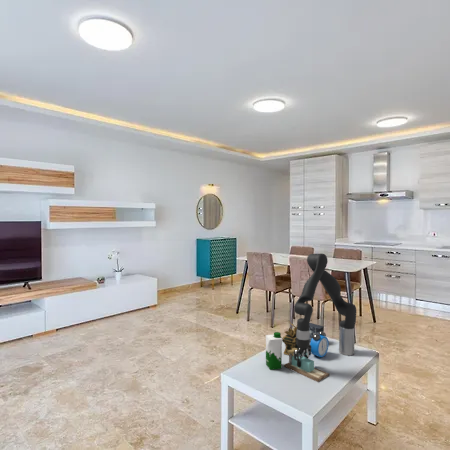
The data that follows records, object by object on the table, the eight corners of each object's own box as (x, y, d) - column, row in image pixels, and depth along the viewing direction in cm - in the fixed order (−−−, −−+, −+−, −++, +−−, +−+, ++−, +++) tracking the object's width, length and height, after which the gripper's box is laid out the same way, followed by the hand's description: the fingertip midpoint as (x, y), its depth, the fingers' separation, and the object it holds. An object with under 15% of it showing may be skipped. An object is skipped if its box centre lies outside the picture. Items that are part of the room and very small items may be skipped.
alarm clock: (317, 360, 197) (317, 336, 197) (309, 357, 202) (309, 333, 201) (328, 354, 206) (329, 331, 205) (320, 351, 210) (320, 329, 210)
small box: (302, 340, 229) (302, 324, 228) (306, 337, 234) (306, 321, 233) (319, 345, 220) (320, 328, 220) (323, 342, 225) (324, 325, 225)
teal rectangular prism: (296, 362, 192) (297, 354, 191) (314, 369, 182) (314, 361, 182) (291, 364, 188) (291, 356, 188) (308, 372, 179) (309, 363, 179)
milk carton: (283, 369, 185) (283, 335, 185) (268, 370, 183) (269, 336, 183) (277, 362, 194) (278, 330, 193) (263, 364, 192) (264, 331, 191)
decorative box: (291, 346, 219) (291, 317, 218) (304, 349, 213) (305, 320, 213) (278, 356, 203) (278, 325, 202) (292, 360, 197) (292, 329, 196)
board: (295, 361, 196) (295, 346, 196) (328, 375, 178) (329, 359, 178) (284, 366, 189) (284, 351, 188) (317, 382, 171) (318, 365, 171)
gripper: (304, 332, 192) (304, 359, 193) (290, 338, 183) (289, 366, 183) (315, 335, 187) (315, 363, 187) (300, 342, 177) (300, 371, 178)
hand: (302, 365), depth 185 cm, fingers open, 6 cm apart
